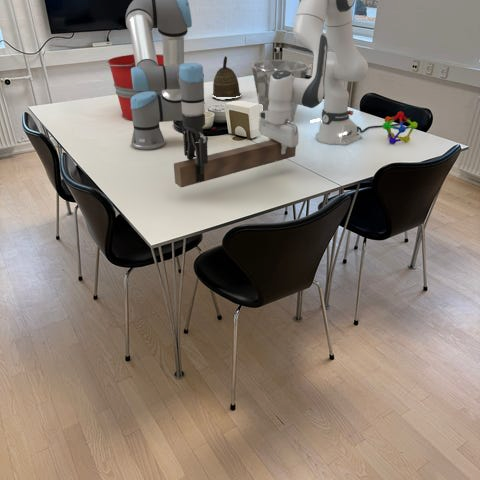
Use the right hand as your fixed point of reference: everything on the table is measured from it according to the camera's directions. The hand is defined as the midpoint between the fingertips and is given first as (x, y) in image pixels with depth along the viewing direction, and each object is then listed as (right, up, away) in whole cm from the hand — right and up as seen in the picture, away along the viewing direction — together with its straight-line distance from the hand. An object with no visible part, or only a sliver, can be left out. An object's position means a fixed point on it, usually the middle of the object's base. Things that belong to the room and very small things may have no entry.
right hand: (277, 151), depth 175 cm
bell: (-23, +56, +106) cm, 122 cm away
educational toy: (+59, +11, +35) cm, 70 cm away
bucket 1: (-68, +35, +73) cm, 106 cm away
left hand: (-30, -13, -17) cm, 37 cm away
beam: (-15, -8, -8) cm, 19 cm away
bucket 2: (+6, +32, +68) cm, 76 cm away
